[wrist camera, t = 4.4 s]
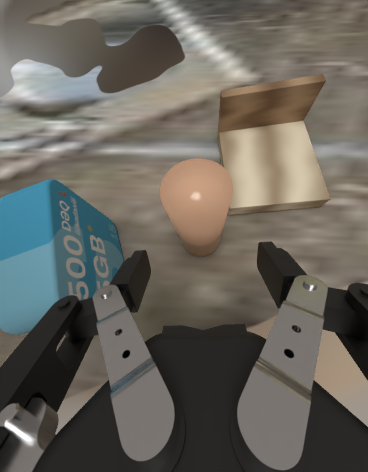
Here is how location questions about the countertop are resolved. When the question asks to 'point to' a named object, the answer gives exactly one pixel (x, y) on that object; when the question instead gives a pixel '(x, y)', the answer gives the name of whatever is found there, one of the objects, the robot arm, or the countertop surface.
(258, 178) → the wooden l-shaped stand
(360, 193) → the countertop surface
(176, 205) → the peach dome-topped cylinder
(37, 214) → the data package
